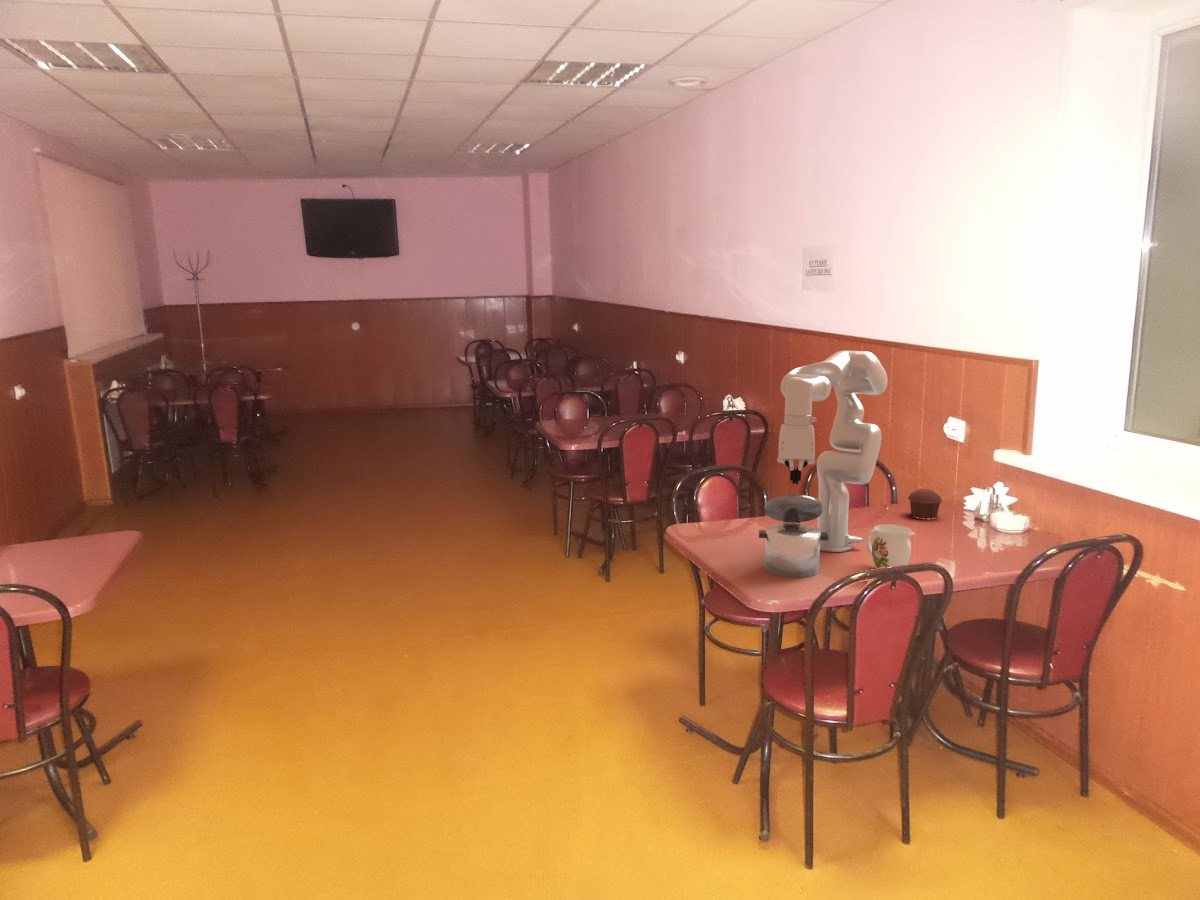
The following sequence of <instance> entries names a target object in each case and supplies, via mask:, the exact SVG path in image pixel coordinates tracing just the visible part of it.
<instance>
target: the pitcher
mask: <svg viewBox="0 0 1200 900" xmlns="http://www.w3.org/2000/svg"><path fill="white" fill-rule="evenodd" d="M915 534H916V533H915V532H914V531H912V529H911V528H910V527H907V526H903V525H898V524H887V523H886V524H879V525H875V526H874V528H873V529H870V530H868V532H867V533H866V536H865V547H866V550H867V552H868V553H869V555H870V556H871V557H872V561H873V565H874V566H875V569H877V568H881V567H890V566H899V565H907V564H908V565H909V563H910V560H911V556H912V555H911V553H912V545H911V541H910V537H912V536H914V535H915ZM872 535H874V538H873V541H872V544H871V538H872ZM908 565H907V566H908Z"/></svg>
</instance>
